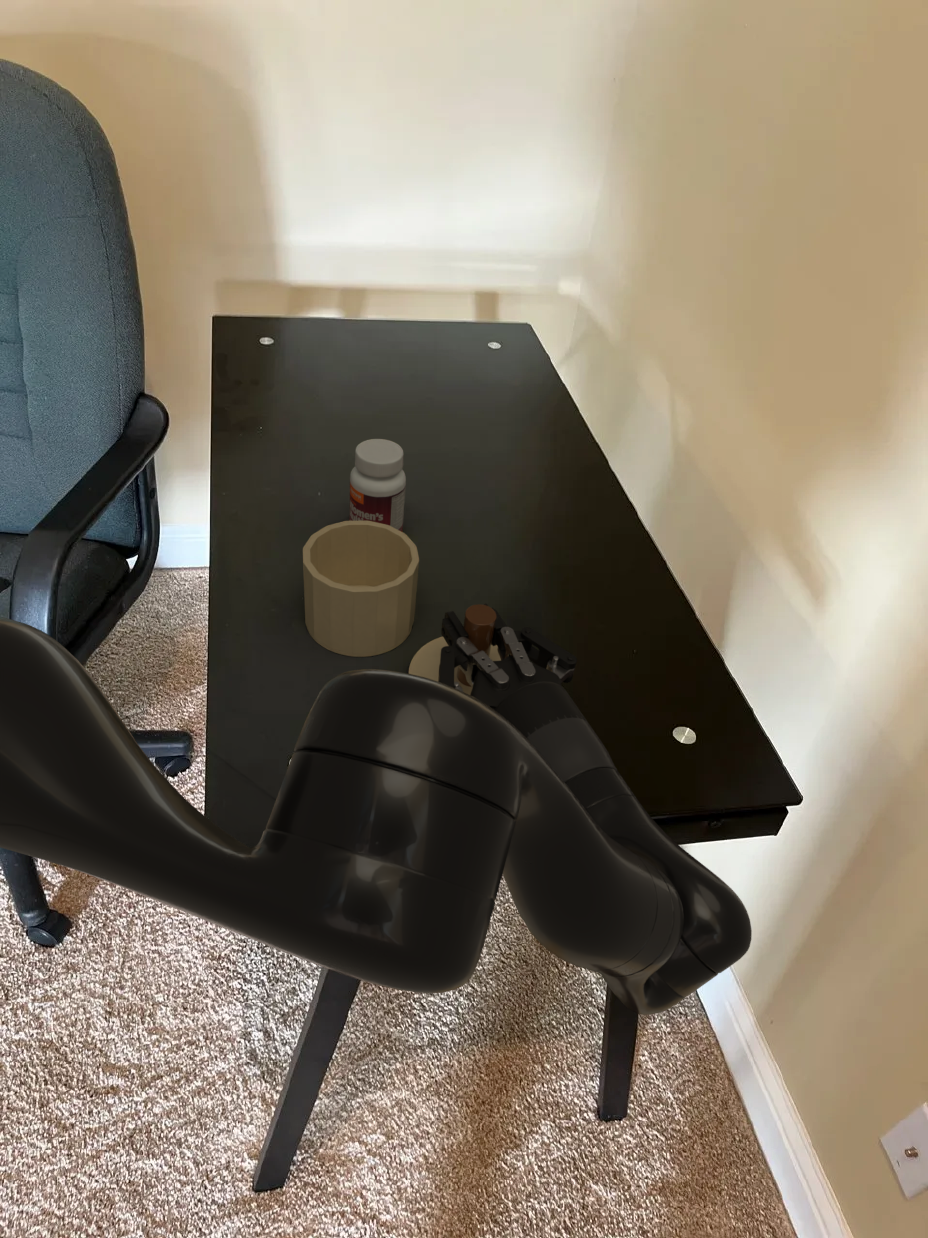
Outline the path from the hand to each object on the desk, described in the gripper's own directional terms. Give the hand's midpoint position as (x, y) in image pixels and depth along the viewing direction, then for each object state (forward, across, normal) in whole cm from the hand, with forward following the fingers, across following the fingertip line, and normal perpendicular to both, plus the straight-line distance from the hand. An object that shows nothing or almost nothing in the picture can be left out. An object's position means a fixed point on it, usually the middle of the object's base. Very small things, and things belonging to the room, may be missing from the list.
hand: (464, 615), depth 77 cm
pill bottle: (+22, +1, +7) cm, 23 cm away
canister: (+9, +7, +7) cm, 13 cm away
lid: (-3, 0, +6) cm, 7 cm away
